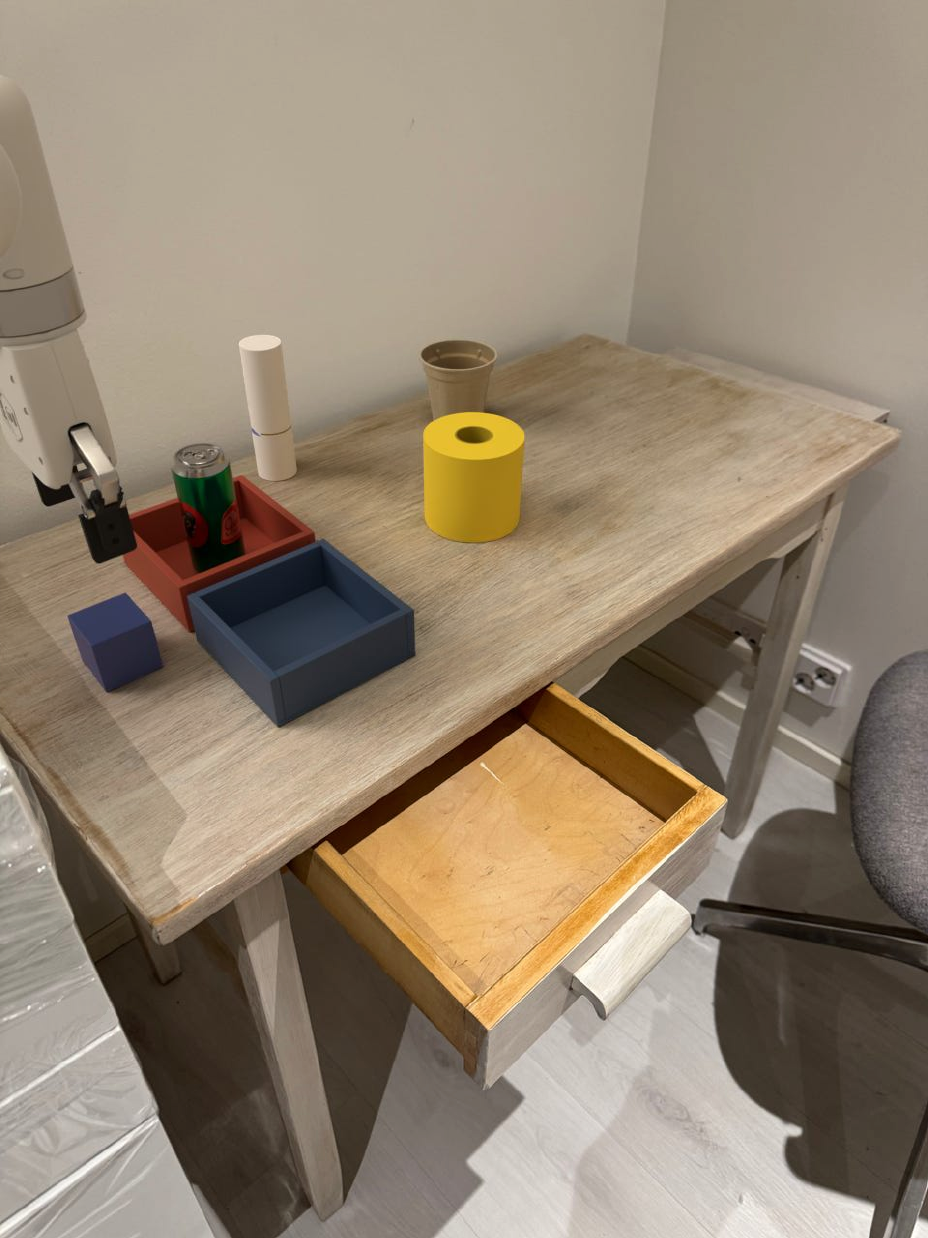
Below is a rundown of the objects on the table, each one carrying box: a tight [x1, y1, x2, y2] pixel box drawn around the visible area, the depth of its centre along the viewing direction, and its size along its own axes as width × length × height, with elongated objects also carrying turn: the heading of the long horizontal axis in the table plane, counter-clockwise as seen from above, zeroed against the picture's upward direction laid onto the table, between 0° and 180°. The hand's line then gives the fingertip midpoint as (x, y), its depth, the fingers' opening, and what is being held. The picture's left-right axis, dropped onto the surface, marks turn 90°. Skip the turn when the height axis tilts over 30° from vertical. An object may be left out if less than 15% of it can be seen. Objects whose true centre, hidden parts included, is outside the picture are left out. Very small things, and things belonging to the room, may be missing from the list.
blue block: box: [67, 592, 164, 693], centre depth 74 cm, size 5×5×5 cm
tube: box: [238, 334, 298, 482], centre depth 96 cm, size 4×4×15 cm
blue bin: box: [187, 538, 416, 728], centre depth 76 cm, size 14×14×5 cm
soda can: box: [170, 442, 246, 573], centre depth 82 cm, size 5×5×12 cm
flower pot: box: [418, 338, 499, 421], centre depth 109 cm, size 9×9×9 cm
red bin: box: [122, 474, 317, 633], centre depth 85 cm, size 14×14×5 cm
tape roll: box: [422, 412, 525, 544], centre depth 91 cm, size 10×10×9 cm
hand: (89, 526), depth 68 cm, fingers open, 9 cm apart
